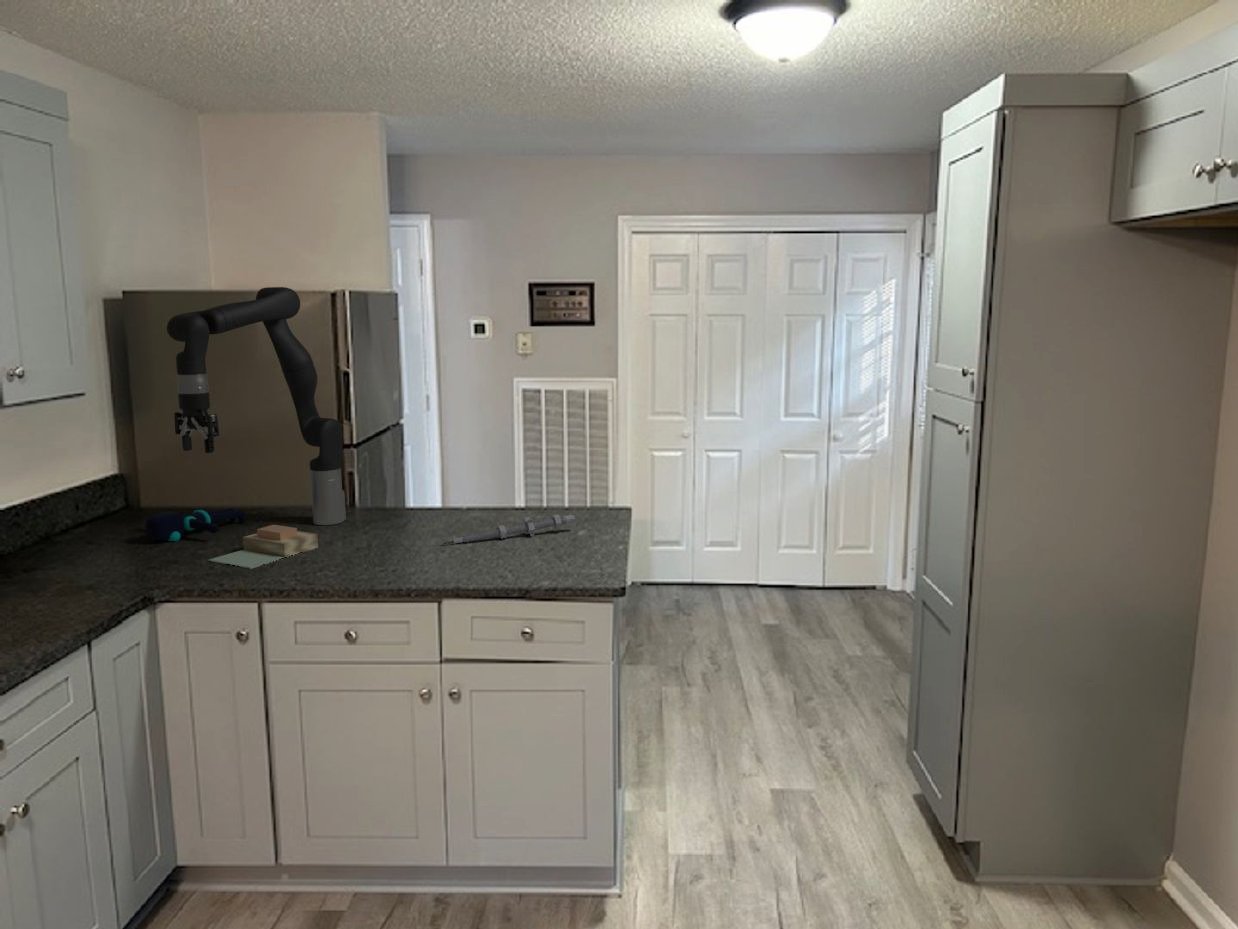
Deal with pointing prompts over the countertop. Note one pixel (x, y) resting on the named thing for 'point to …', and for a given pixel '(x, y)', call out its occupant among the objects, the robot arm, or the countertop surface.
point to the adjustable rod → (517, 528)
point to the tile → (277, 532)
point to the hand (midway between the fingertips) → (198, 451)
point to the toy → (187, 522)
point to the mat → (246, 559)
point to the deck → (281, 544)
